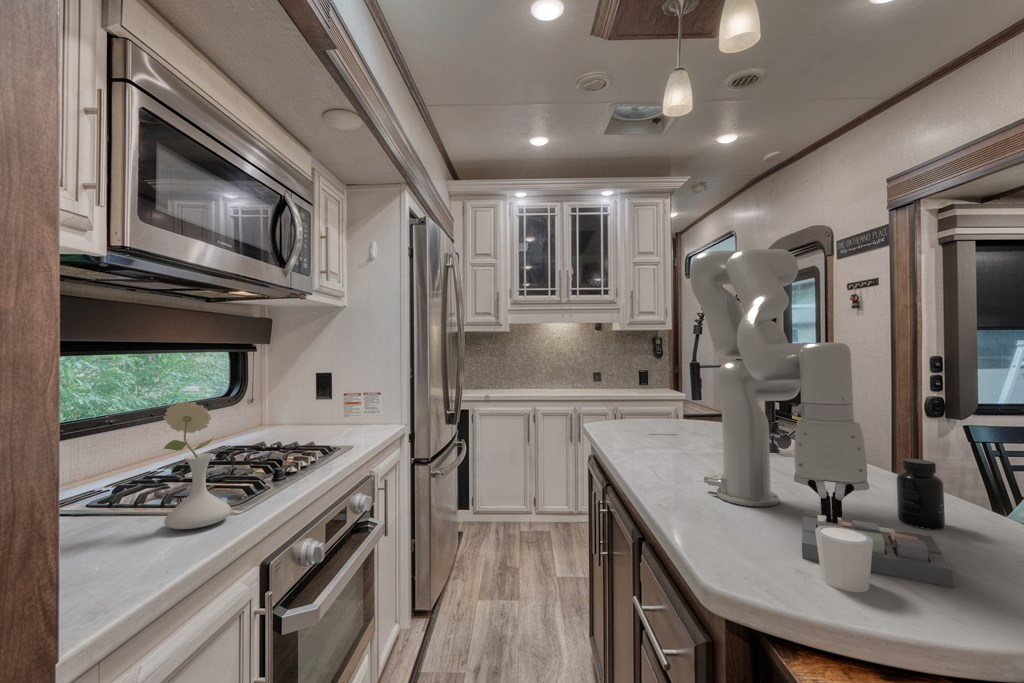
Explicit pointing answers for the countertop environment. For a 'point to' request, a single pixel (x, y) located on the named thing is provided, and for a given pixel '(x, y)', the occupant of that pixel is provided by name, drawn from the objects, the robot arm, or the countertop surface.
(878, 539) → the key sage
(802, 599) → the countertop surface
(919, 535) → the keypad
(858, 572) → the white oval cup
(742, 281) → the robot arm
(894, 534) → the key terracotta
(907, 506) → the supplement bottle
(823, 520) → the key cream
